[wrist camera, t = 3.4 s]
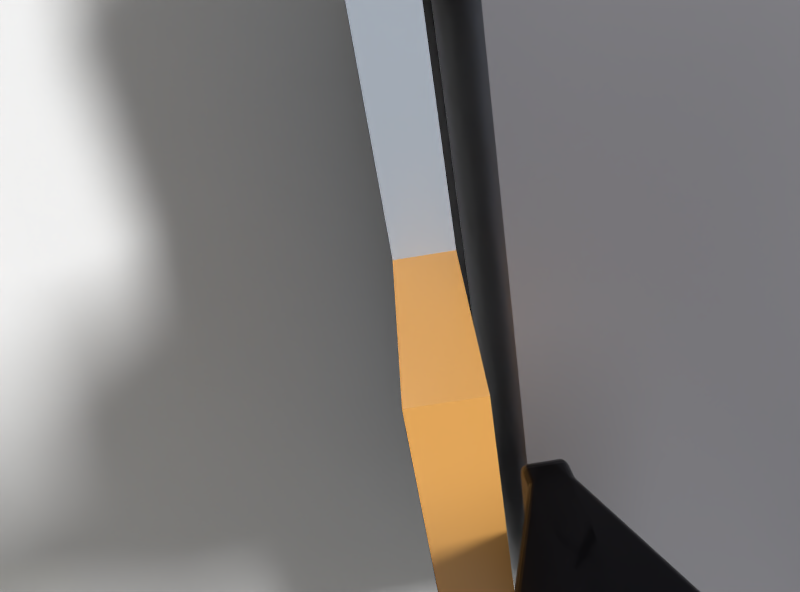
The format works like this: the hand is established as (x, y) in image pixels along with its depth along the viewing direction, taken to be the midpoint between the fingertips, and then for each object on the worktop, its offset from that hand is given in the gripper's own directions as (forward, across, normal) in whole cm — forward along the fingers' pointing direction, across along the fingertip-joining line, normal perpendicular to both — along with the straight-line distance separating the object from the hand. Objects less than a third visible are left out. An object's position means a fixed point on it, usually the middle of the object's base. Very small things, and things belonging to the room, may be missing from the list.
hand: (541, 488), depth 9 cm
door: (+6, +1, 0) cm, 6 cm away
